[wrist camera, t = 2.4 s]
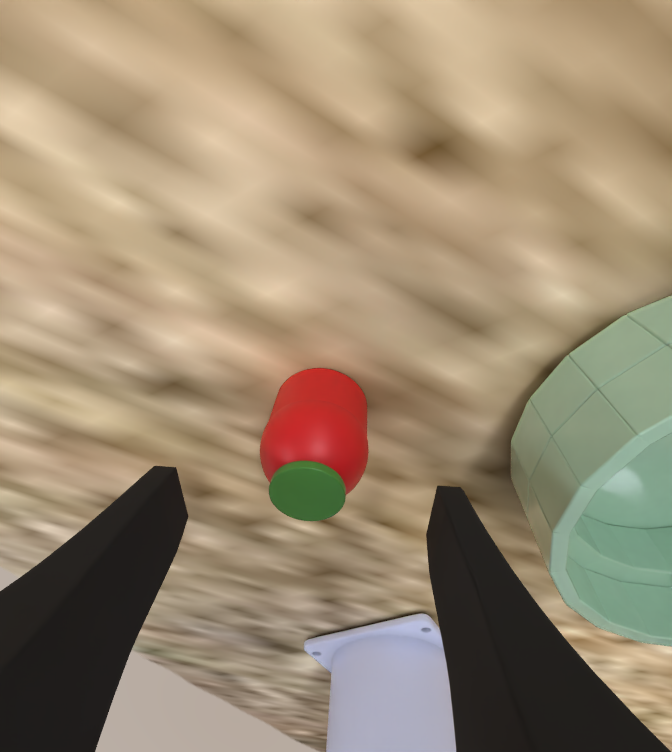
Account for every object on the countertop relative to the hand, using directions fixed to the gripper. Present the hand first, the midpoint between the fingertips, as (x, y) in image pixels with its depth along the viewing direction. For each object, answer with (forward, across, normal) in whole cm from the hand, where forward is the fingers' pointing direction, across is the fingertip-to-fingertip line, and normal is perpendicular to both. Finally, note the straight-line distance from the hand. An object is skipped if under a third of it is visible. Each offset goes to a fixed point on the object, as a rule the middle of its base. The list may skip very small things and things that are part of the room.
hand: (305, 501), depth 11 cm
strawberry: (+5, 0, 0) cm, 5 cm away
